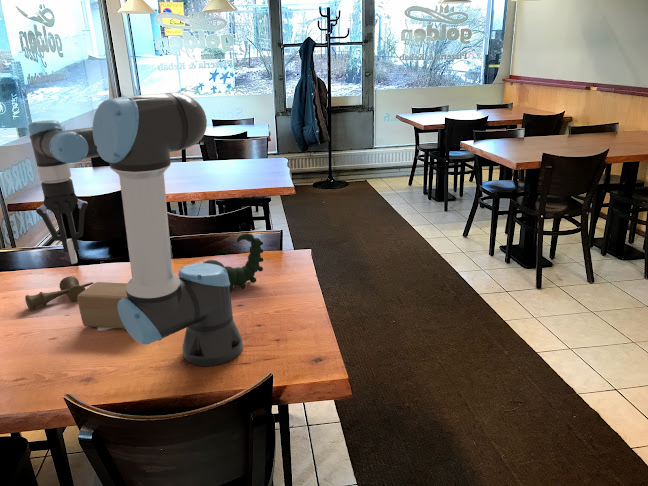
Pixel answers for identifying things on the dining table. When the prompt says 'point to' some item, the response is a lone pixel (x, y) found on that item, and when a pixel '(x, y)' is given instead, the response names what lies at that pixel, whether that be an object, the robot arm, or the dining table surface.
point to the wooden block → (102, 304)
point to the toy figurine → (252, 265)
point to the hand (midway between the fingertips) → (74, 261)
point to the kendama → (57, 293)
